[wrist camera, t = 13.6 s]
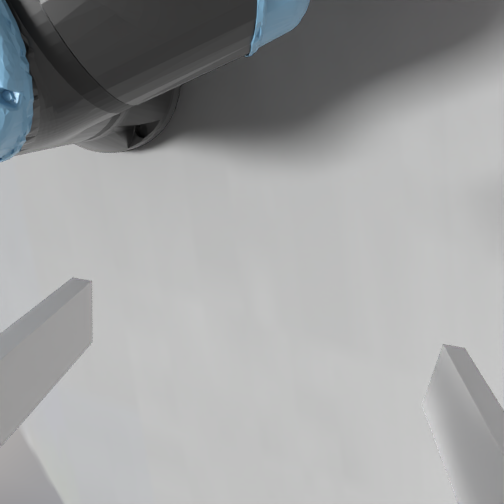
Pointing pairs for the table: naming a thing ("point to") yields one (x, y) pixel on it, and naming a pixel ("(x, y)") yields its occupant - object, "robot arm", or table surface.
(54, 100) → the robot arm
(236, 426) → the table surface
